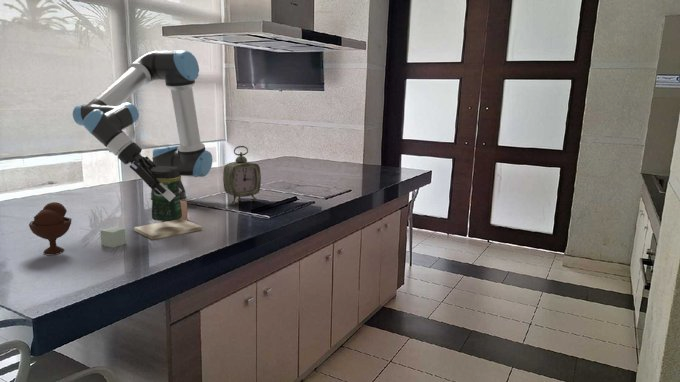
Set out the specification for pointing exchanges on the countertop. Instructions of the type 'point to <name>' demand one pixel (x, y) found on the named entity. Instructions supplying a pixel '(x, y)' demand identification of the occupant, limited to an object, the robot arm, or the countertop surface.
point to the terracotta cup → (183, 210)
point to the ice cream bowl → (51, 225)
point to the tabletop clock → (241, 177)
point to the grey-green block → (113, 236)
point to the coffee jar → (160, 204)
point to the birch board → (167, 228)
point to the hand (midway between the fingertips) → (176, 196)
